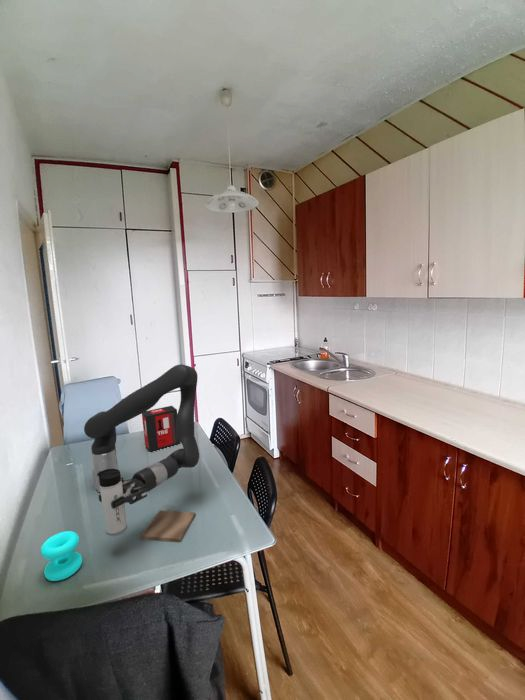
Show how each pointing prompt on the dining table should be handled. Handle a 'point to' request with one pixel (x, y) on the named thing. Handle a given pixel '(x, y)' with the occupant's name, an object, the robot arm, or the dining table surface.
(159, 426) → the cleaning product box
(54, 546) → the cyan spool
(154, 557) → the dining table surface
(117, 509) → the travel mug
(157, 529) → the walnut board
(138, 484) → the robot arm
